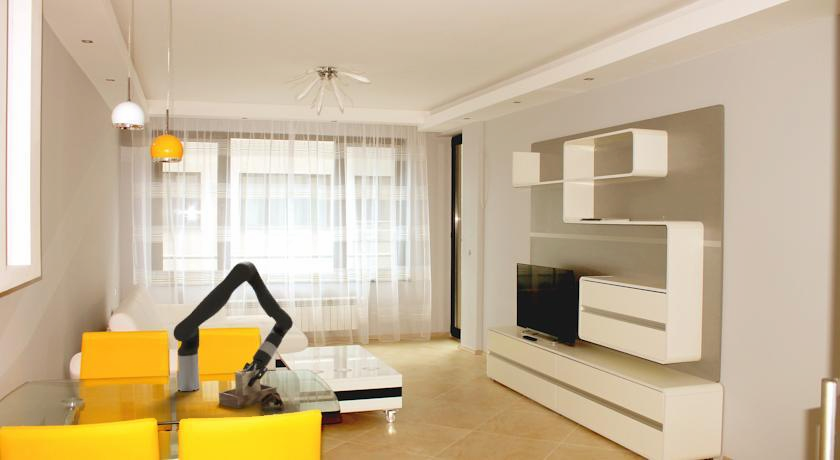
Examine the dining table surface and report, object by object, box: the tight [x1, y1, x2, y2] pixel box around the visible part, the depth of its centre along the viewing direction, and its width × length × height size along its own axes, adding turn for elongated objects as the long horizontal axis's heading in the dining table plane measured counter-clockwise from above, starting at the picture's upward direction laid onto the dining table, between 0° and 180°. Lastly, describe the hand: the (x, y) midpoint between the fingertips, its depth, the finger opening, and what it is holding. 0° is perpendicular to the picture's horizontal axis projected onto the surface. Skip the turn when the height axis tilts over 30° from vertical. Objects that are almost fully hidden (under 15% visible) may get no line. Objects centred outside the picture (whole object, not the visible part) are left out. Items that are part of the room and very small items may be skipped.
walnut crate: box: [218, 383, 278, 410], centre depth 290 cm, size 20×15×5 cm
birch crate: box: [234, 369, 261, 397], centre depth 290 cm, size 9×6×11 cm, turn 141°
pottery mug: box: [258, 391, 285, 411], centre depth 276 cm, size 12×10×8 cm
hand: (244, 384), depth 289 cm, fingers closed on birch crate, 6 cm apart
